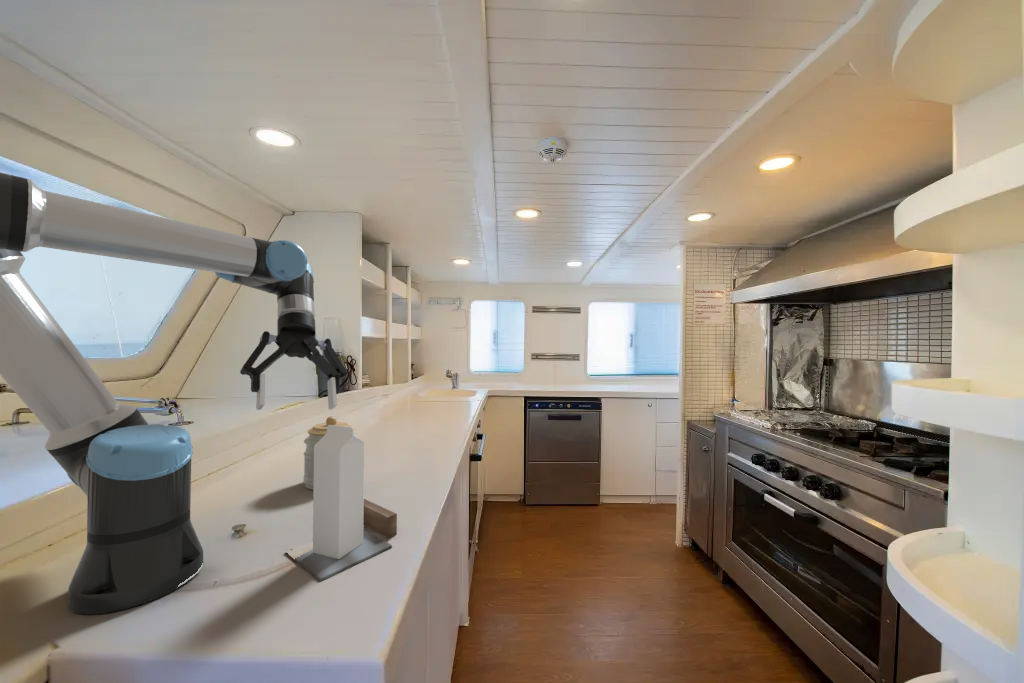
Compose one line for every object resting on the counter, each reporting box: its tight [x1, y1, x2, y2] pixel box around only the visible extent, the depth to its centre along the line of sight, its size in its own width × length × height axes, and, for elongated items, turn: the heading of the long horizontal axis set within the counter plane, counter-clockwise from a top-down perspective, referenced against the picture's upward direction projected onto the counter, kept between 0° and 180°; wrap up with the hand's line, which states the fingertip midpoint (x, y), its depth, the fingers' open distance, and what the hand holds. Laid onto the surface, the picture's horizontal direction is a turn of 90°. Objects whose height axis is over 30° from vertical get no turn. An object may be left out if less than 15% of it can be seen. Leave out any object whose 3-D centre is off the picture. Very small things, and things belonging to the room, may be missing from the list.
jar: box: [303, 416, 358, 491], centre depth 104 cm, size 13×13×18 cm
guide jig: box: [294, 498, 398, 582], centre depth 75 cm, size 16×26×4 cm, turn 52°
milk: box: [312, 425, 365, 559], centre depth 70 cm, size 6×6×22 cm
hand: (298, 407), depth 80 cm, fingers open, 13 cm apart
